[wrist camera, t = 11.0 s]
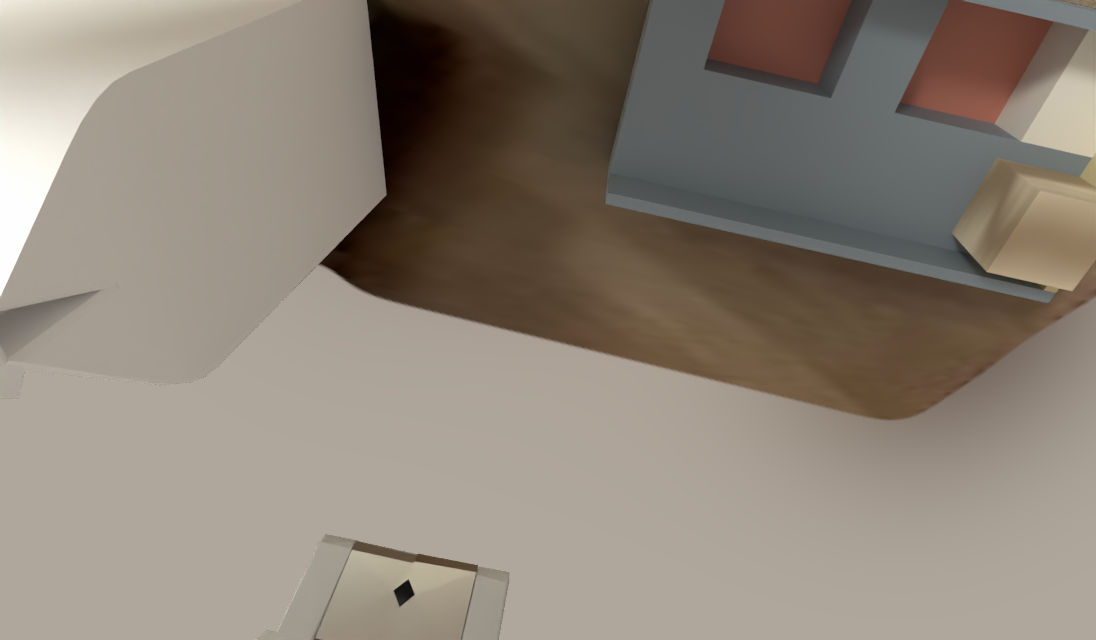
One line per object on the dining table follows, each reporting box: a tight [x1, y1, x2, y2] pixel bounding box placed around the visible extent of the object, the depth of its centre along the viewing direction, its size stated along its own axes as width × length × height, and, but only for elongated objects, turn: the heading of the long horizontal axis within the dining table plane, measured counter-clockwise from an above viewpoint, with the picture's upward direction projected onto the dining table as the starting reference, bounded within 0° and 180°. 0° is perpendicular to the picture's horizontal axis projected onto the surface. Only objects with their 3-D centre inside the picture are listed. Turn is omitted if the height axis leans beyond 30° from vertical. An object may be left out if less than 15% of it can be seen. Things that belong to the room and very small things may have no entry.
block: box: [952, 158, 1096, 291], centre depth 30 cm, size 4×4×4 cm
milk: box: [0, 0, 387, 399], centre depth 25 cm, size 12×12×26 cm
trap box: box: [605, 0, 1096, 303], centre depth 31 cm, size 12×22×6 cm, turn 79°
